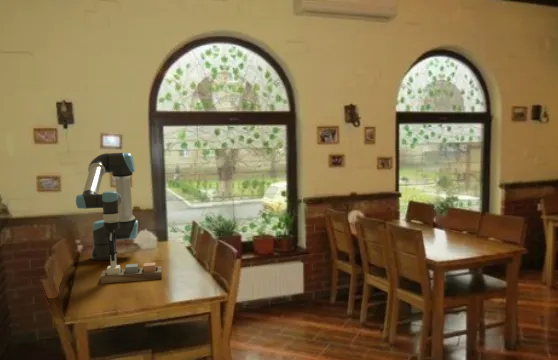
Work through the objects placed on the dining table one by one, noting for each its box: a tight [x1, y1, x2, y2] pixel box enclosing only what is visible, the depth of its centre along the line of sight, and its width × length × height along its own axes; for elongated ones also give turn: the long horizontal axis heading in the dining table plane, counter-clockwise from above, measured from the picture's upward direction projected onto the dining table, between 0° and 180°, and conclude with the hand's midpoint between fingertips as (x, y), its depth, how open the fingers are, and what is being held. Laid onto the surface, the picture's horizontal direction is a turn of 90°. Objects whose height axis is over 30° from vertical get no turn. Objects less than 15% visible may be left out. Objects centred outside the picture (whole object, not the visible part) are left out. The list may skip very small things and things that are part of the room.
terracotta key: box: [143, 261, 157, 272], centre depth 254 cm, size 6×6×4 cm
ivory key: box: [106, 264, 122, 275], centre depth 250 cm, size 6×6×4 cm
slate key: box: [124, 263, 139, 274], centre depth 252 cm, size 6×6×4 cm
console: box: [99, 265, 163, 285], centre depth 252 cm, size 12×30×4 cm, turn 103°
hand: (113, 266), depth 249 cm, fingers closed
